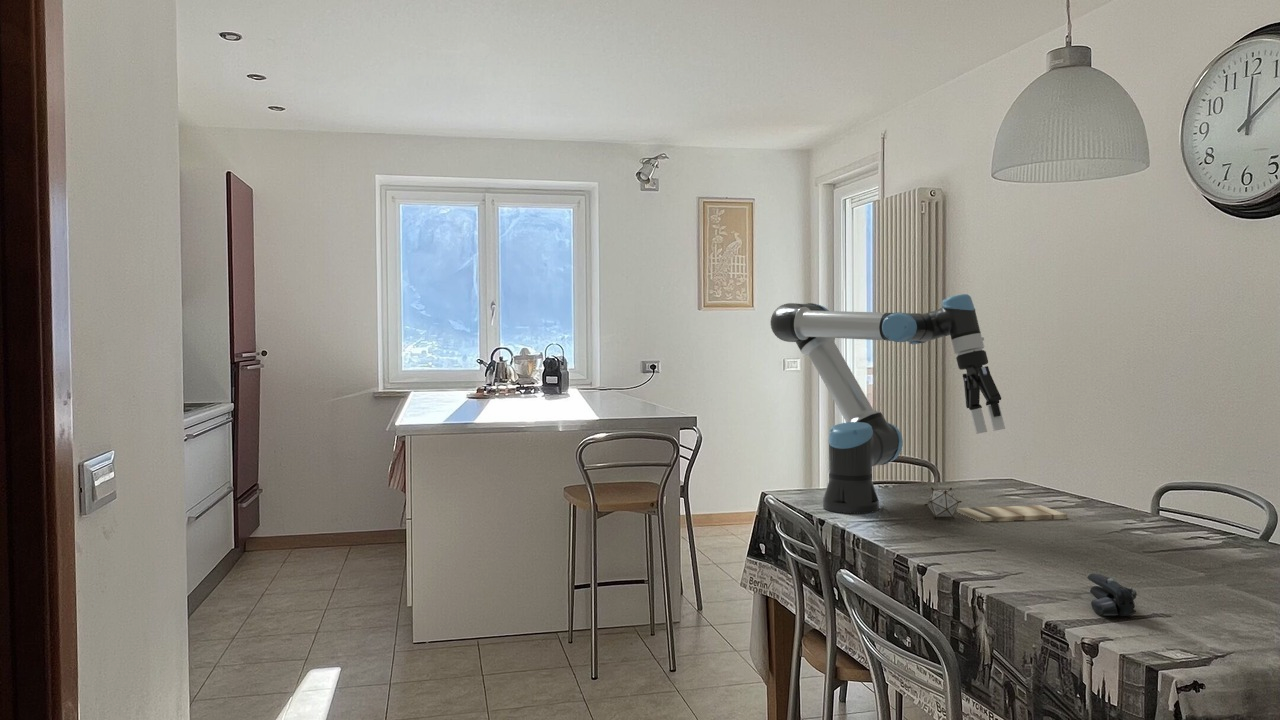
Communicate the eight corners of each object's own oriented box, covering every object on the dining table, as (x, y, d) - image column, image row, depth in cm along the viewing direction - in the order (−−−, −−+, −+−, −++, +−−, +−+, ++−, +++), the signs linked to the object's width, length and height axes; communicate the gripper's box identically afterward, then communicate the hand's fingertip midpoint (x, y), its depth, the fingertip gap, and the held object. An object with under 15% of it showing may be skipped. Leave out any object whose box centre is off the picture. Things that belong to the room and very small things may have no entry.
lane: (979, 522, 222) (979, 517, 222) (957, 512, 234) (957, 508, 234) (1067, 518, 225) (1067, 514, 225) (1040, 509, 237) (1040, 505, 237)
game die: (934, 532, 228) (911, 499, 231) (957, 517, 231) (934, 485, 234) (951, 521, 220) (927, 488, 223) (975, 507, 223) (950, 474, 226)
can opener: (1144, 624, 145) (1144, 590, 145) (1098, 621, 147) (1098, 588, 147) (1114, 593, 162) (1114, 563, 162) (1073, 590, 164) (1074, 561, 164)
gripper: (1000, 342, 217) (1022, 425, 214) (969, 356, 242) (988, 431, 238) (971, 348, 217) (992, 431, 214) (942, 361, 242) (961, 436, 239)
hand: (990, 431), depth 226 cm, fingers open, 13 cm apart
